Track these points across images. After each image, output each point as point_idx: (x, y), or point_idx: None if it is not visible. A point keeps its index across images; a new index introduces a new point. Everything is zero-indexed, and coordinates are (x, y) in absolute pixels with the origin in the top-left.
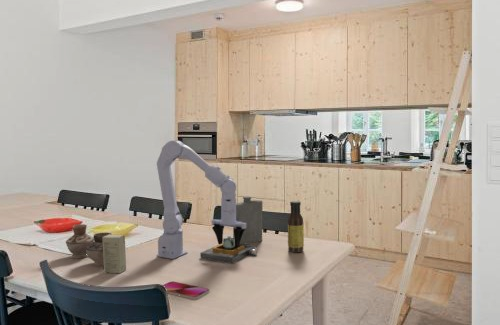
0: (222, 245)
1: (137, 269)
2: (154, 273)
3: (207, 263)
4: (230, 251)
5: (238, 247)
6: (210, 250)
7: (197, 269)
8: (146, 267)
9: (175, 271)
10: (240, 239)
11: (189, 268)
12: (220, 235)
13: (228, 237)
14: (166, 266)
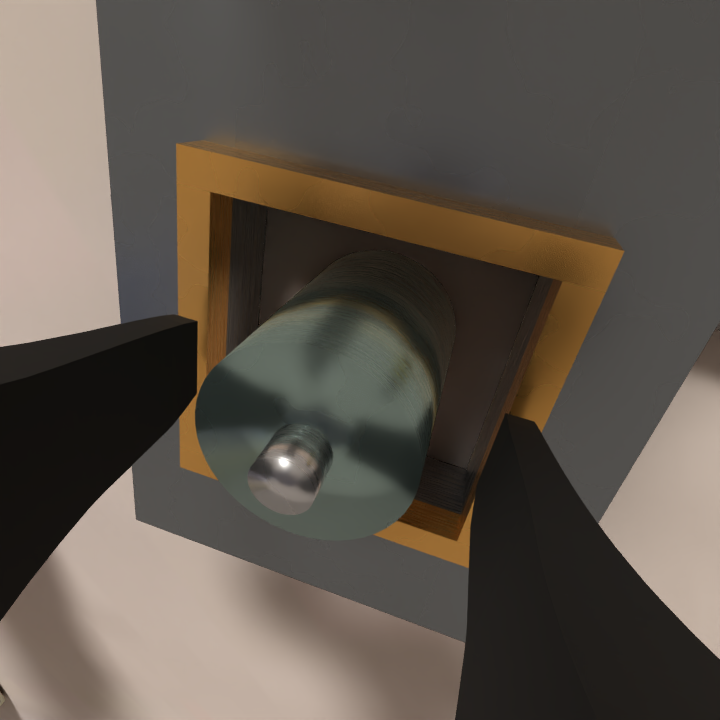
0: (214, 290)
1: (16, 660)
2: (123, 710)
3: (294, 596)
4: (441, 552)
5: (519, 398)
6: (173, 441)
7: (291, 688)
8: (25, 640)
9: (194, 700)
10: (574, 506)
11: (235, 670)
12: (86, 439)
13: (285, 502)
14: (95, 634)
